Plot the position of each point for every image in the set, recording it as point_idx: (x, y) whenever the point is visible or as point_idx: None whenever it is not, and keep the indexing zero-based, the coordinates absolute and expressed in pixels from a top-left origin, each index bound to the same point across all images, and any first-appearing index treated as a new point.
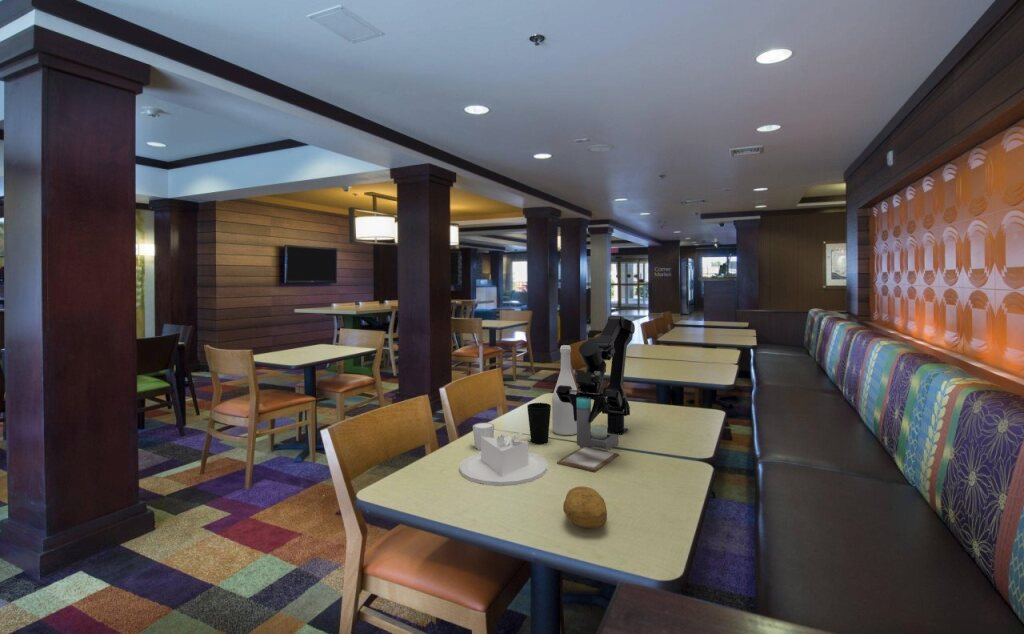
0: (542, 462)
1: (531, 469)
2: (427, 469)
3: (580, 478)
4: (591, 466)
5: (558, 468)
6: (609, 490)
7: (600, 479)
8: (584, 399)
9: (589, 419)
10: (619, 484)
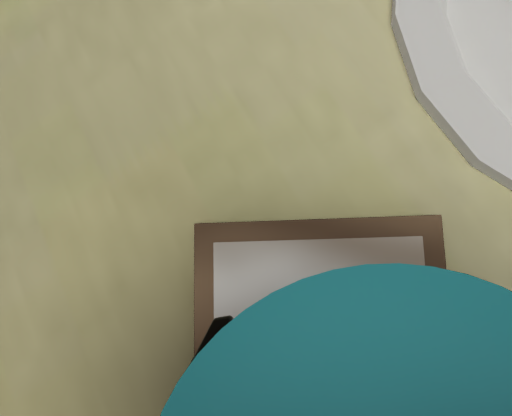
0: (492, 133)
1: (489, 46)
2: None
3: (221, 116)
4: (230, 253)
5: (388, 162)
6: (52, 79)
7: (135, 162)
8: (284, 385)
9: (221, 328)
10: (38, 162)
